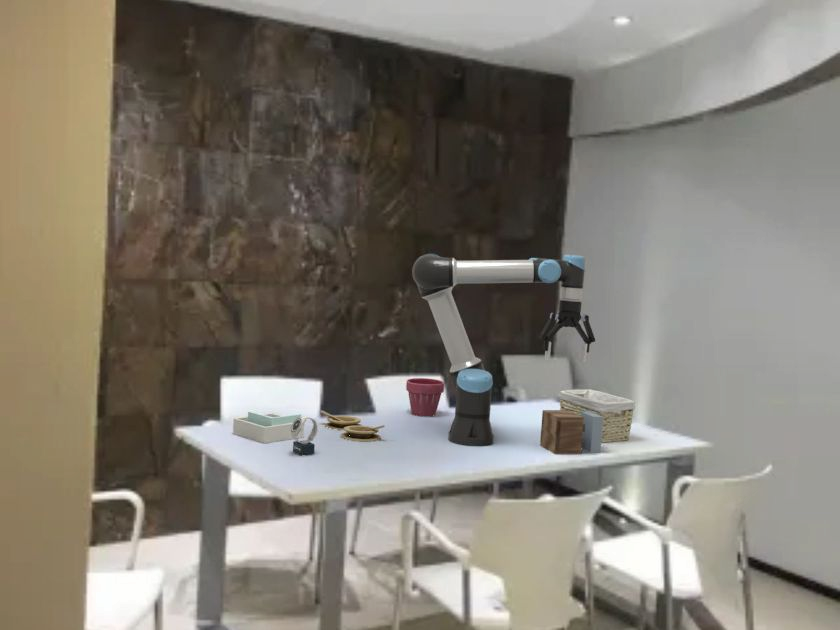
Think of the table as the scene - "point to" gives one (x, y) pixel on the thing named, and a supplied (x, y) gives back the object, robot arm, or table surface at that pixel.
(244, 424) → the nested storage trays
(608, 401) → the storage basket
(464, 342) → the robot arm
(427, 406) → the plant pot
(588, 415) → the grey rectangular block
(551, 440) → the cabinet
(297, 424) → the watch
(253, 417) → the mint green square box
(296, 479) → the table surface
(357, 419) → the tableware set
